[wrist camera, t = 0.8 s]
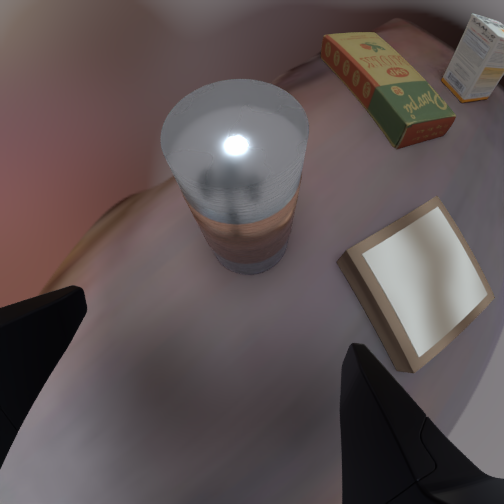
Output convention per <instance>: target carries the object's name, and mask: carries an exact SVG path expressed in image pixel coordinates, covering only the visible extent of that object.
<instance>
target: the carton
mask: <svg viewBox="0 0 504 504" xmlns="http://www.w3.org/2000/svg"><path fill="white" fill-rule="evenodd" d="M321 59H322V60H323V61H324V62H325V63H326V64H327V65H328V66H329V67H330V69H332V71H333V72H334V73H335V74H336V75H337V76H338V77H339V78H340V79H341V80H342V82H343V83H344V84H345V85H346V86H347V87H348V89H349V90H350V91H351V92H352V93H353V94H354V96H355V97H356V98H357V99H358V100H359V102H360V103H361V104H362V105H363V107H364V108H365V109H366V110H367V112H368V113H369V114H370V116H371V117H372V118H373V119H374V121H375V122H376V123H377V125H378V126H379V128H380V129H381V130H382V132H383V133H384V135H385V136H386V137H387V139H388V140H389V142H390V143H391V145H392V146H393V147H395V148H396V149H399V148H403V147H406V146H410V145H413V144H416V143H420V142H423V141H426V140H430V139H434V138H437V137H441V136H444V134H445V133H446V132H447V131H448V130H449V128H450V127H451V125H452V124H453V122H454V120H455V118H456V115H455V114H454V112H453V111H452V110H451V109H450V107H449V106H448V105H447V104H446V103H445V101H444V100H443V99H442V98H441V97H440V96H439V95H438V93H437V92H436V91H435V90H434V89H433V88H432V87H431V86H430V85H429V84H428V83H427V81H426V80H425V79H424V78H423V77H422V76H421V75H420V74H419V73H418V72H417V71H416V70H415V69H414V68H413V67H412V66H411V65H410V64H409V63H408V62H407V61H406V60H405V59H404V58H403V57H402V56H401V55H400V54H399V53H397V52H396V51H395V50H394V49H393V48H392V47H391V46H390V45H389V44H388V43H386V42H385V41H384V40H383V39H382V38H381V37H379V36H378V35H377V34H376V33H373V32H357V33H340V34H330V35H324V37H323V41H322V49H321Z"/></svg>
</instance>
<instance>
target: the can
mask: <svg viewBox="0 0 504 504" xmlns="http://www.w3.org/2000/svg"><path fill="white" fill-rule="evenodd" d="M308 134H309V124H308V119H307V116H306V114H305V111H304V110H303V108H302V106H301V105H300V104H299V102H298V101H297V100H296V99H295V98H294V97H293V96H292V95H290V94H289V93H287V92H286V91H284V90H283V89H281V88H279V87H277V86H275V85H272V84H269V83H266V82H262V81H257V80H250V79H232V80H224V81H219V82H215V83H212V84H209V85H206V86H203V87H201V88H199V89H197V90H195V91H193V92H191V93H190V94H189V95H187V96H186V97H184V98H183V99H182V100H181V101H179V102H178V103H177V104H176V105H175V106H174V108H173V109H172V110H171V112H170V113H169V114H168V116H167V118H166V120H165V122H164V124H163V127H162V131H161V147H162V151H163V154H164V156H165V158H166V160H167V163H168V164H169V166H170V169H171V171H172V173H173V175H174V177H175V179H176V181H177V183H178V184H179V186H180V189H181V192H182V194H183V197H184V199H185V200H186V202H187V204H188V206H189V208H190V210H191V212H192V214H193V216H194V218H195V220H196V222H197V223H198V225H199V227H200V229H201V231H202V233H203V235H204V237H205V238H206V240H207V242H208V244H209V245H210V247H211V248H212V250H213V252H214V254H215V256H216V257H217V259H218V260H219V261H220V263H221V264H222V265H223V266H225V267H226V268H227V269H229V270H231V271H233V272H235V273H239V274H243V275H254V274H259V273H263V272H265V271H267V270H269V269H271V268H272V267H274V266H275V265H276V264H277V263H278V262H279V261H280V259H281V258H282V257H283V255H284V253H285V250H286V248H287V243H288V238H289V235H290V232H291V227H292V223H293V218H294V213H295V208H296V203H297V198H298V193H299V188H300V183H301V178H302V167H303V162H304V157H305V151H306V146H307V140H308Z"/></svg>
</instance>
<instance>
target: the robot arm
mask: <svg viewBox="0 0 504 504" xmlns="http://www.w3.org/2000/svg"><path fill="white" fill-rule="evenodd" d="M86 312H87V304H86V299H85V294H84V290H83V289H82V288H81V287H78V286H74V285H72V286H69V287H65V288H62V289H59V290H56V291H52V292H49V293H46V294H43V295H39V296H36V297H33V298H30V299H27V300H24V301H21V302H17V303H15V304H11V305H8V306H5V307H2V308H0V469H1V467H2V464H3V462H4V460H5V458H6V456H7V454H8V451H9V449H10V447H11V445H12V443H13V441H14V439H15V437H16V435H17V433H18V431H19V429H20V427H21V425H22V423H23V422H24V420H25V418H26V416H27V414H28V412H29V411H30V409H31V407H32V405H33V403H34V402H35V400H36V398H37V396H38V395H39V393H40V391H41V390H42V388H43V386H44V384H45V383H46V381H47V379H48V378H49V376H50V375H51V373H52V371H53V370H54V368H55V367H56V365H57V363H58V362H59V360H60V359H61V357H62V355H63V354H64V352H65V351H66V349H67V348H68V346H69V344H70V343H71V341H72V339H73V337H74V335H75V333H76V331H77V329H78V328H79V326H80V324H81V322H82V320H83V318H84V317H85V315H86ZM340 427H341V449H342V504H504V479H501V478H495V477H492V476H489V475H487V474H485V473H484V472H482V471H481V470H480V469H479V468H478V467H476V466H475V465H474V464H473V463H472V462H471V461H470V460H469V459H468V458H467V457H466V456H465V455H464V454H463V453H462V452H461V451H460V450H459V449H457V447H456V446H454V444H453V443H452V442H450V440H449V439H448V438H447V437H446V436H445V435H444V434H443V433H442V432H441V431H440V430H439V429H438V428H437V426H436V425H435V424H434V423H433V422H432V421H431V420H430V418H429V417H426V414H425V413H424V412H423V410H422V409H421V408H420V407H419V406H418V405H417V403H416V402H415V401H414V400H413V399H412V398H411V397H410V395H409V394H408V393H407V392H406V391H405V390H404V389H403V387H402V386H401V385H400V384H399V383H398V382H397V381H396V379H395V378H394V377H393V376H392V375H391V374H390V373H389V371H388V370H387V369H386V368H385V367H384V366H383V365H382V364H381V362H380V361H379V360H378V359H377V358H376V357H375V356H374V355H373V353H372V352H371V351H370V350H369V349H368V348H367V347H366V346H365V345H364V344H359V343H352V344H351V345H350V346H349V348H348V351H347V353H346V356H345V358H344V361H343V364H342V372H341V395H340Z"/></svg>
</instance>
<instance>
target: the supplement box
mask: <svg viewBox="0 0 504 504" xmlns="http://www.w3.org/2000/svg"><path fill="white" fill-rule="evenodd" d="M503 74H504V25H503V24H501V23H500V22H498V21H495V20H492V19H489V18H486V17H483V16H479V15H476V14H472V15H471V18H470V20H469V23H468V25H467V27H466V30H465V32H464V34H463V36H462V38H461V41H460V43H459V45H458V47H457V49H456V51H455V53H454V55H453V57H452V59H451V62H450V64H449V66H448V68H447V70H446V72H445V74H444V76H443V78H442V80H441V81H442V82H443V83H444V84H445V85H446V87H447V88H448V89H449V90H450V91H451V92H452V93H453V94H454V95H455V96H456V97H457V99H458V100H459V101H460V102H461V103H464V102H470V101H477V100H483V99H488V97H489V96H490V94H491V93H492V91H493V90H494V88H495V87H496V85H497V84H498V82H499V80H500V79H501V77H502V76H503Z"/></svg>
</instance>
